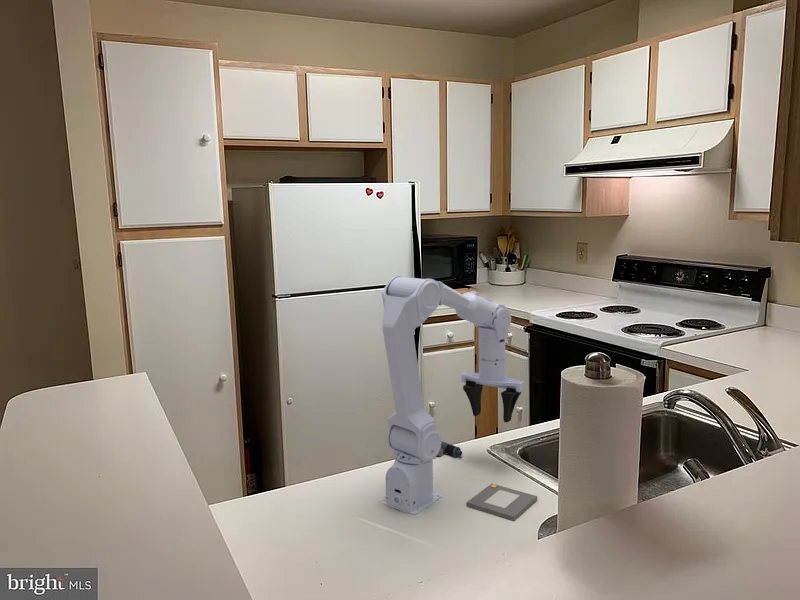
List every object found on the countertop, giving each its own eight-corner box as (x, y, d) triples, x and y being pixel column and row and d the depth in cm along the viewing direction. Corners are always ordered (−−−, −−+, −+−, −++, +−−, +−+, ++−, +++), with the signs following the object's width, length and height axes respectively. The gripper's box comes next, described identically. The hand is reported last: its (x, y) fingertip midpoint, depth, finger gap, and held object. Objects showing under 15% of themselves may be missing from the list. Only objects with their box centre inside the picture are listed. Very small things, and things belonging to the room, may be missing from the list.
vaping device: (426, 444, 151) (464, 457, 143) (410, 450, 147) (449, 463, 139) (425, 433, 151) (464, 446, 142) (410, 439, 147) (449, 452, 139)
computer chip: (513, 520, 113) (513, 515, 113) (466, 506, 119) (466, 501, 119) (537, 500, 121) (537, 495, 121) (491, 487, 127) (491, 482, 127)
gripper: (530, 358, 134) (530, 418, 136) (472, 350, 143) (472, 407, 145) (515, 365, 129) (515, 428, 131) (456, 356, 137) (456, 415, 139)
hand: (491, 417), depth 137 cm, fingers open, 7 cm apart
